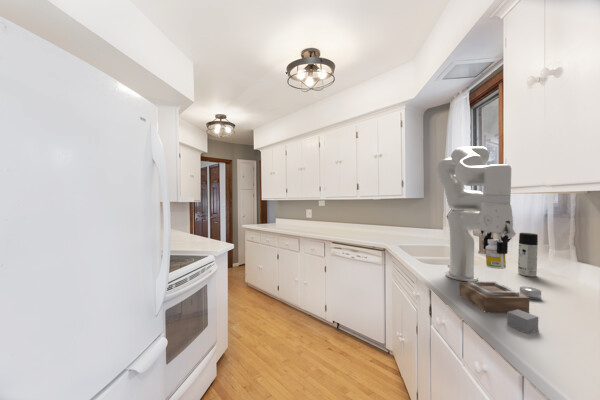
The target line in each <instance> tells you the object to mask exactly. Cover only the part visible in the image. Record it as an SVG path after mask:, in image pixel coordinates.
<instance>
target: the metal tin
mask: <svg viewBox="0 0 600 400" xmlns="http://www.w3.org/2000/svg"><path fill="white" fill-rule="evenodd" d="M519 293H520V294H522V295H524V296H527V297H529V300H533V301H542V290H540V289H538V288H536V287H530V286H520V287H519Z"/></svg>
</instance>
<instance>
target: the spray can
mask: <svg viewBox="0 0 600 400" xmlns="http://www.w3.org/2000/svg"><path fill="white" fill-rule="evenodd" d="M538 235H539V234H537V233H533V232H519V235H518V261H517V263H518V265H517V266H518V267H517V272H518V273H517V274H518V275H520V276H523V277H529V278H530V277H531V278H535V277H537V273H538V245H539V244H538V243H539V241H538V240H539V239H538V238H539V236H538Z"/></svg>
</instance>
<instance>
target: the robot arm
mask: <svg viewBox="0 0 600 400" xmlns="http://www.w3.org/2000/svg"><path fill="white" fill-rule="evenodd" d="M489 159H490V151H489V149H488V148H486V147H485V146H482V145H481V146H479V145H478V146H477V145H476V146H462V147H457V148H456V149H454V150H453V151H452V152H451V155H450V157H448V158H444V159H441V160H440V161H438V162H437V167H436V174H437V176H438V178H439V182H440V183H441V186H443V190H444V193H445V197H446V203H447V206H448V207H449V208H450V209H451V210H452V211H450V212H449V214H448V215H447V216H448V217H447V221H448V227H449V228H448V229H449V264H448V265H447V268H449V270H448V271H446V272H445V276H446V277H447V278H449V279H453V280H456V281H461V282H478V280H479V277H478V275H476V274H475V239H474V237H473V236H472V235H471V234H470V233H469V231H470V232H471V231H472V232H473V231H477V232H478V231H479V232H480V233H481V235H482V239H483V245H482V246H483V247H482V248H483V250H486V246H487V245H489V244H488V239H494V238H493V235H494V234H495V235H497V239H498V240H499V242H497V253H498V254H505V255H507V254H508V250H509V249H508V248H509V243H510V241H511V240H512V238H514V237H515V236H516V234H517V233H516V232H515V229H513V228H514V227H513V225H514V223H513V222H514V217H513V210H512V205H511V196H512V195H511V194H512V193H511V192H512V191H511V190H512V167H511V165H510V164H505V163H504V164H503V163H502V164H501V163H500V164H498V163H497V164H496V163H495V164H489V165H486V164H487V163H488V162H489ZM466 186H467V187H478V186H479V187H482V186H483V192H482V191H480V190H466V189H465V187H466Z"/></svg>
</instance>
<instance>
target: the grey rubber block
mask: <svg viewBox="0 0 600 400" xmlns="http://www.w3.org/2000/svg"><path fill="white" fill-rule="evenodd" d="M506 314H507V315H506V317H507V318H506V325H507V326H509V327H512V328H513V327H514V328H513V329H515V330H518V331H520V332H522V333H525V334H531V333H533V332H536V331H539V316H537V315H534V314H531V313H530V312H529V313H527V312H524V311H521V310H519V309H518V310H513V311H509V312H507V313H506Z"/></svg>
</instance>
